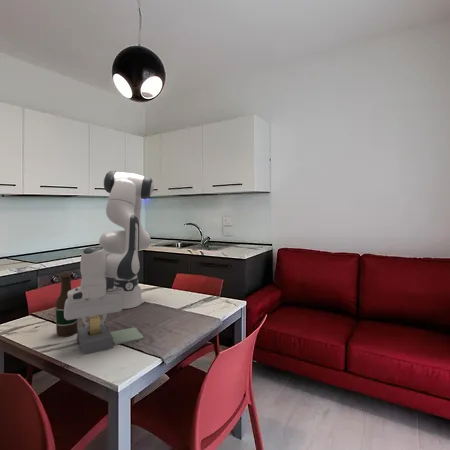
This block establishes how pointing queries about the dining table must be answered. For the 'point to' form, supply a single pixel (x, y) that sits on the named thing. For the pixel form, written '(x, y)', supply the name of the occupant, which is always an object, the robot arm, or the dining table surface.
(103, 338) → the grey slotted block
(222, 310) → the dining table surface
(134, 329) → the green mat
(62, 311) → the beer bottle
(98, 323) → the brass peg
